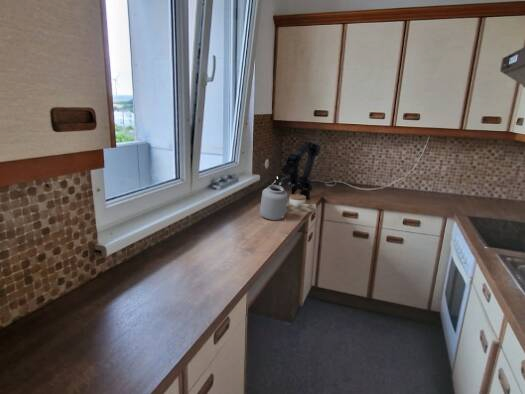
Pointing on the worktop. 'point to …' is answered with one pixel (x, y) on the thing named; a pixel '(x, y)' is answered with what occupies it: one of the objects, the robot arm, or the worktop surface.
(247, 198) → the worktop surface
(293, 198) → the lidded jar
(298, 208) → the board
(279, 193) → the jar
